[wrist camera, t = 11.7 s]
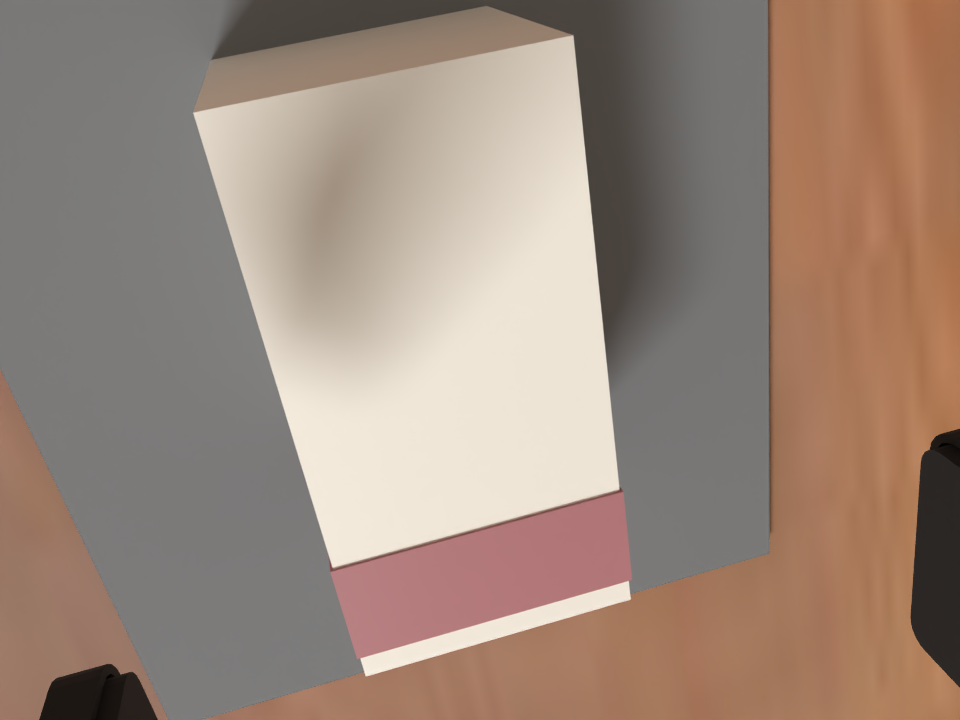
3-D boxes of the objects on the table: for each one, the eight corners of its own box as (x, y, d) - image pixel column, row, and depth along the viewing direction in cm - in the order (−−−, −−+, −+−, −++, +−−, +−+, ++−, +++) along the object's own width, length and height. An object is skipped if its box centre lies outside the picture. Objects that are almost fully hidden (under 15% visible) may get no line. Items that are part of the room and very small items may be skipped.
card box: (208, 60, 15) (189, 114, 11) (488, 5, 16) (578, 35, 12) (339, 512, 20) (363, 679, 16) (553, 455, 21) (634, 600, 16)
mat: (762, 543, 24) (769, 553, 24) (174, 715, 22) (172, 728, 22) (755, -380, 15) (767, -387, 14) (-273, -226, 13) (-288, -231, 12)
